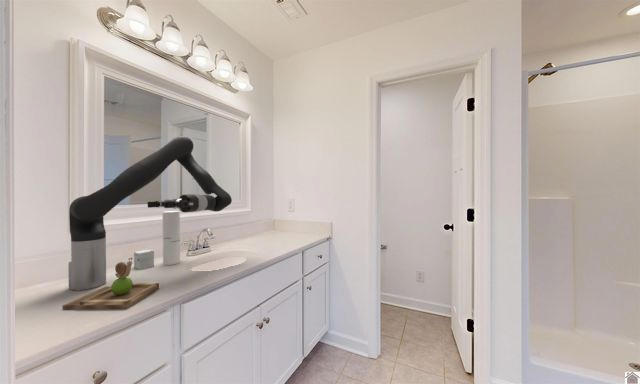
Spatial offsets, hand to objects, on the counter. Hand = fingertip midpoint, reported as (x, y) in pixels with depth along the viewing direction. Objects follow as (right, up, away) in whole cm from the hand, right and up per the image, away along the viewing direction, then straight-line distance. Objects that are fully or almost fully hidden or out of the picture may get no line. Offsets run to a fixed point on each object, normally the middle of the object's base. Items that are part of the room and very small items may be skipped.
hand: (156, 204), depth 87 cm
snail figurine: (-3, -29, -10) cm, 31 cm away
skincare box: (-21, -30, +22) cm, 43 cm away
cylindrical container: (-12, -30, +28) cm, 43 cm away
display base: (-6, -30, -11) cm, 32 cm away
